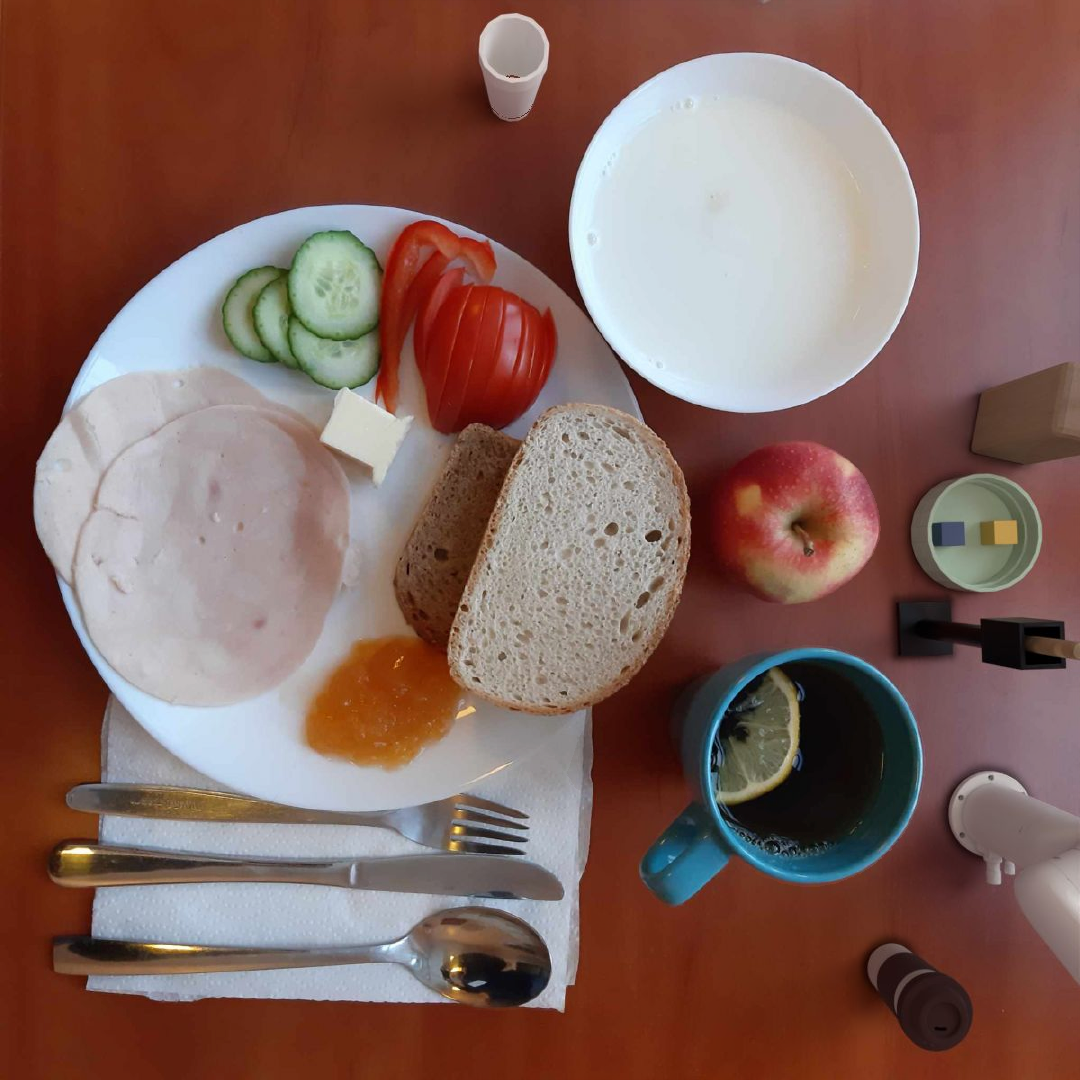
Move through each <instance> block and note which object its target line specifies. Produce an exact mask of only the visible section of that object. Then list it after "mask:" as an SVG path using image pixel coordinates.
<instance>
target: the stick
mask: <svg viewBox="0 0 1080 1080" xmlns="http://www.w3.org/2000/svg"><path fill="white" fill-rule="evenodd" d="M1024 639H1025V651H1026V652H1032V653H1038V654H1044V655H1050V656H1056V657H1062V658H1066V659H1069V660H1070V659H1071V660H1075V661H1080V641H1075V640H1068V639H1067V640H1066V639H1065V640H1060V639H1052V638H1045V637H1037V636H1030V635H1024Z"/></svg>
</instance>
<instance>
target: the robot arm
mask: <svg viewBox="0 0 1080 1080" xmlns="http://www.w3.org/2000/svg"><path fill="white" fill-rule="evenodd" d="M947 813H948V815H947V816H948V823H949V827H950V830H951V832H952V834H953V835H954V837H955V839H956V840H957V841H958V842H959V844H960V845H961V846H962V847H963V848H965V849H966V850H968V851H970V852H971V853H973V854H975V855H978V856H980V857H982V858H983V859H982V860H983V861H984V862H985V863H986V864H985V865H986V869H985V874H986V875H985V878H986V883H987V884H990V885H995V886H996V885H997V886H998V885H1001V884H1002V871H1001V863H1003V860H1004V864H1003V867H1004V869H1003V870H1004V872H1003V873H1004V874H1005V875H1009V876H1014V875H1015V874H1016V866H1017V867H1019V868H1021V869H1022V870H1021V871H1019V872H1018V874H1017V875H1016V877H1015V879H1014V881H1013V893H1014V897H1015V900H1016V902H1017V904H1018V907H1019V908H1020V910H1021V912H1022V913H1023V915H1024V917H1025V919H1026V920H1027V921H1028V922H1029V924H1030V926H1031V927H1032V928H1033V929H1034V930H1035V932H1036V933H1037V935H1038V936H1039V937H1040V938H1041V939H1042V941H1043V942H1044V943H1045V945H1046V946H1047V947H1048V948H1049V949H1050V951H1051V952H1052V954H1053V955H1054V956H1055V957H1056V958H1057V960H1058V961H1059V962H1060V963H1061V964H1062V966H1063V967H1064V968H1065V969H1066V971H1067V972H1068V973H1069V974H1070V976H1071V977H1072V978H1073V980H1074V981H1075V982H1076V984H1077V985H1078V986H1079V987H1080V817H1079V816H1077V815H1074V814H1072V813H1070V812H1068V811H1066V810H1064V809H1061V808H1058V807H1057V806H1054V805H1052V804H1049V803H1047V802H1044V801H1043V800H1039V799H1037V798H1035V797H1033V796H1031V795H1029V794H1028V793H1027V791H1026V789H1025V787H1023V786H1022V784H1021V783H1020V782H1018V781H1017V780H1016V779H1015V778H1013V777H1011V776H1009V775H1007V774H1005V773H1002V772H1000V771H995V770H984V771H979V772H975V773H973V774H971V775H969V776H968V777H966V778H965V779H963V780H962V781H961V782H960V783H959V784H958V785H957V786H956V788H955V790H954V791H953V793H952V795H951V798H950V801H949V805H948V812H947Z"/></svg>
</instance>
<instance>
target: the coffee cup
mask: <svg viewBox="0 0 1080 1080" xmlns="http://www.w3.org/2000/svg"><path fill="white" fill-rule="evenodd" d="M867 975H868V978H869V980H870V982H871V984H872V985H873V986H874V988H875V989H876V991H877V992H878V994H879V996H880V998H881V999H882V1001H883V1003H885V1005H886V1006H887V1008H888V1009H889V1010H890V1012H891V1013H892V1014H893V1016H894V1017H895V1018H896V1019H897V1021H898V1024H899V1026H900V1028H901V1030H902V1032H903V1033H904V1035H906V1037H907V1038H908V1039H909V1040H910V1042H912V1043H913V1044H914V1045H915V1046H916V1047H918V1048H920V1049H922V1050H924V1051H928V1052H933V1053H934V1052H935V1053H936V1052H937V1053H939V1052H944V1051H948V1050H951V1049H953V1048H955V1047H956V1046H958V1045H959V1044H960V1043H962V1042H963V1041H964V1039H965V1038H966V1036H967V1035H968V1034H969V1032H970V1030H971V1027H972V1024H973V1020H974V1006H973V1003H972V1002H973V1001H972V1000H971V997H970V995H969V992H968V991H967V990H966V988H964V986H963V985H962V984H960V983H959V982H958V981H957V980H956V979H955V978H953V977H952V976H951V975H948V974H946V973H943V972H941V971H940V970H939V969H937V968H936V967H934V966H933V965H931V964H930V963H929V962H928V961H926V960H925V959H923V957H921V956H919V955H917V954H915V953H913V952H911V951H910V950H909V949H908V948H906V947H905V946H903V945H901V944H897V943H885V944H882V945H880V946H878V947H877V948H876V949H874V951H872V953H871V954H870V957H869V960H868V962H867Z"/></svg>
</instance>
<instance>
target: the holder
mask: <svg viewBox="0 0 1080 1080" xmlns="http://www.w3.org/2000/svg"><path fill="white" fill-rule="evenodd" d="M895 606H896V607H895V608H896V630H897V632H896V633H897V655H898V656H899V657H917V656H942V655H943V656H945V655H946V656H948V655H954V648H953V647H954V646H953V644H954V645H959V646H960V645H961V646H967V647H973V648H978V649H980V651H981V663H983V664H988V665H992V666H998V667H1004V668H1008V669H1013V670H1018V671H1040V670H1042V671H1043V670H1065V669H1067V658H1062V657H1056V656H1050V655H1044V654H1038V653H1032V652H1026V651H1025V639H1024V635H1030V636H1037V637H1045V638H1052V639H1060V640H1066V628H1065V627H1066V626H1065V625H1066V624H1065V621H1064V620H1055V619H1047V618H1046V619H1045V618H1036V617H1026V616H1025V617H1024V616H1017V617H1016V616H1015V617H1013V616H1012V617H984V618H982V617H981V618H979V622H980V623H979V624H975V623H965V622H959V621H958V622H957V621H952V601H951V600H929V601H927V600H926V601H925V600H923V601H896V605H895Z"/></svg>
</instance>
